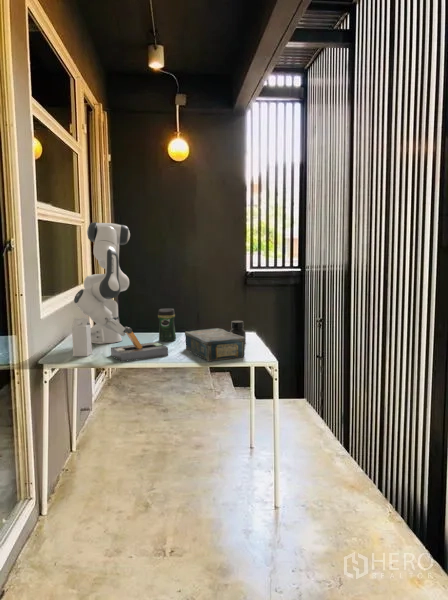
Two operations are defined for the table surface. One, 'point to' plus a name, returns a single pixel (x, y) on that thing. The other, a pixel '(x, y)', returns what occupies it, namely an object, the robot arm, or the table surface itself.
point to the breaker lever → (133, 337)
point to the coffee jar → (166, 324)
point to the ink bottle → (238, 328)
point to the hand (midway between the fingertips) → (123, 334)
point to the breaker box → (139, 351)
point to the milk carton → (81, 337)
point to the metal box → (215, 344)
